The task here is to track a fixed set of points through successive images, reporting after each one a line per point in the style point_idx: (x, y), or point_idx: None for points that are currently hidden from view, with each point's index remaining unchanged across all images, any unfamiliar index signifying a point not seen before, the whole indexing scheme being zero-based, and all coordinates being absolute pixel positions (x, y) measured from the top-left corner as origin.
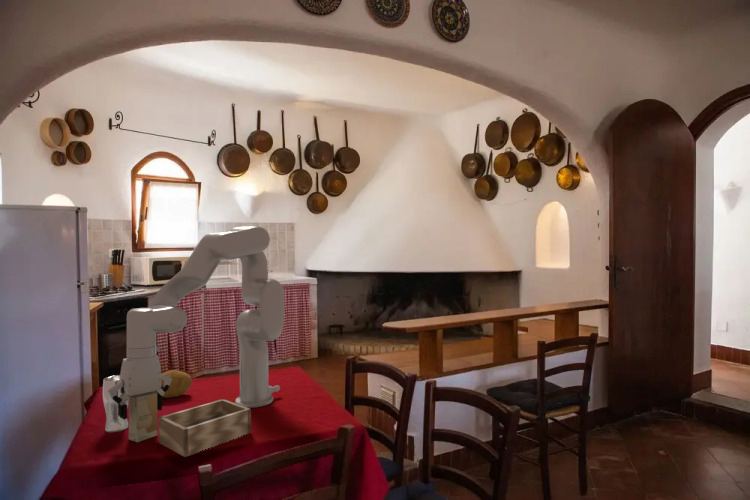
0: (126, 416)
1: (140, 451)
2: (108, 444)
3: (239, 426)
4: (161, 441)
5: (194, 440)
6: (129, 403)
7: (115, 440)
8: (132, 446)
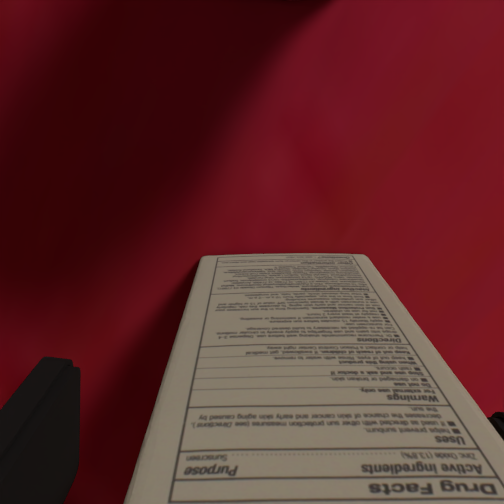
0: (63, 488)
1: None
2: (69, 202)
3: None
4: None
5: None
6: (128, 501)
7: (137, 174)
8: (158, 371)
